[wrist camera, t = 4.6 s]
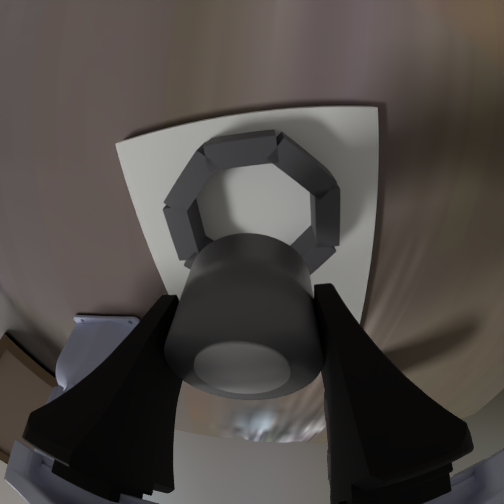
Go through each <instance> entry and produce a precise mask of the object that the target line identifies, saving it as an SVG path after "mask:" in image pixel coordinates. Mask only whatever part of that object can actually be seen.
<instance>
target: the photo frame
mask: <svg viewBox="0 0 504 504" xmlns="http://www.w3.org/2000/svg"><path fill="white" fill-rule="evenodd" d="M56 386H57V387H58V386H59V385H58V382H57V379H56V378H54V377H53V376H52V375H50V374H49V373H48V372H47V371H45V370H44V369H43V368H42V367H40V366H39V365H38V364H37V363H36V362H34V361H33V360H32V359H31V358H30V357H29V356H28V355H26V354H25V353H24V352H23V351H22V350H21V349H20V348H19V347H18V346H17V345H16V344H15V343H14V342H13V341H11V340H10V339H9V338H8V337H7V336H6V335H5V334H4V335H3V336H2V338H1V339H0V460H2V461H3V462H5V463H6V464H8V462H9V458H10V455H11V451H12V448H13V445H14V442H15V440H16V439H17V440H18V441H20V442H22V443H23V444H25V445H26V446H28V447H29V448H31V449H33V450H34V451H35V448H34V447H33V446H31V445H30V444H28V443H27V442H25V441H24V440H23V439H22V435H23V432H24V429H25V426H26V423H27V421H28V418H29V415H30V413H31V412H32V411H34V410H36V409H38V408H40V407H42V406H44V405H46V403H47V400H48V398H49V395H50V393H51V391H52V389H53V387H56Z"/></svg>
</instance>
